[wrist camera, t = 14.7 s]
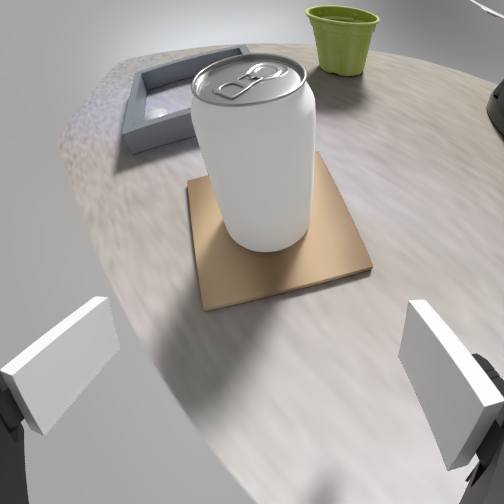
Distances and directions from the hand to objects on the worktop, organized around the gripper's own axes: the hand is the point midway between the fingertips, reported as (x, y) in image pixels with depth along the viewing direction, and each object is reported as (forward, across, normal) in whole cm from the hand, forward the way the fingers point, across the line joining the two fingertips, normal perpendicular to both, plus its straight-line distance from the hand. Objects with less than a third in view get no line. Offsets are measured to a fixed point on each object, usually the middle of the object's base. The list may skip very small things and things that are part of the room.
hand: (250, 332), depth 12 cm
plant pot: (+31, +10, +21) cm, 39 cm away
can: (+12, 0, +3) cm, 13 cm away
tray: (+26, -9, +16) cm, 32 cm away
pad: (+13, 0, +2) cm, 13 cm away
